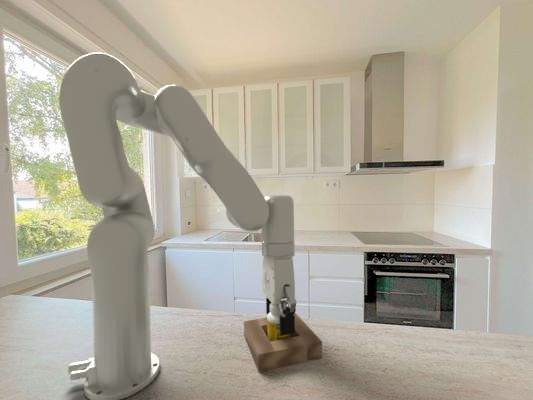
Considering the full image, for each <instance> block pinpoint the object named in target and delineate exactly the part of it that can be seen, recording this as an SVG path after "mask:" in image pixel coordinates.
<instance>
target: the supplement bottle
mask: <svg viewBox="0 0 533 400" xmlns="http://www.w3.org/2000/svg"><path fill="white" fill-rule="evenodd" d="M283 306H284V310H285V308H286V307H288V304H286V305H283ZM266 315H267V314H266ZM280 315H281V312H280V307H279V304H277V305H274V304H272V303H271V304H270V312H269V314H268V315H267V316H266V318H267V329H268V339H269V341H270V342H271V341H276V340H281V339H286V338H291V334H287V335H281V334H280Z"/></svg>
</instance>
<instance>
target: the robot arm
mask: <svg viewBox="0 0 533 400" xmlns="http://www.w3.org/2000/svg"><path fill="white" fill-rule="evenodd" d="M58 104H59V111H60V115H61V120H62V123H63V127H64V131H65V134H66V138H67V141H68V146H69V147H68V148H69V152H70V155H71V158H72V164H73V167H74V171H75V174H76V178H77V179H76V180H77V184H78V187H79V192H80V194H81V195H82V198H84V200H85V201H87V202H88V203H89V204H91V205H93V206H95V207H98V208H101V210H102V214H103V218H102V219H101V220H99V221H98V222H97V223H96V224H95V225H94V226H93V228H92V229H91V231H90V232H89V235H88V237H87V244H86V250H87V251H86V253H87V254H86V255H87V258H88V264H89V268H90V269H89V270H90V276H91V293H92V316H93V318H92V319H93V321H92V322H93V326H92V327H93V356H91V357H90V358H89V359H85V360H77V361H71V362H70V363H69V365H68V369H67V370H68V372H67V373H68V375H70V381H74V380H80V379H84V378H85V381H84V384H83V387H84V388H83V393H84V396H85V397H86V398H87V399H89V400H123V399H125V398H128V397H130V396H132V395H134V394H137V393H138V392H140V391H142V390H143V389H144V388H146V387H147V386H149V384H150V383H152V382H153V381H154V380H155V378H156V377H157V375H158V374H159V372H160V368H161V367H160V365H161V364H160V363H161V360H160V357H158V355H156V354H155V353H153V352H152V340H151V339H152V338H151V336H152V335H151V334H152V333H151V332H152V330H151V327H152V326H151V325H152V324H151V291H150V288H151V287H150V286H151V285H150V284H151V283H150V268H149V256H148V251H149V250H148V248H149V247H150V245H151V243H152V242H153V240H154V237H155V224H154V220H153V215H152V212H151V208H150V204H149V199H148V196H147V191H146V188H145V185H144V182H143V179H142V177H141V176H140V175H139V173H138V172H137V171H136V169H134V168H133V167H131V166H130V164H129V161H128V157H127V154H126V151H125V147H124V142H123V138H122V134H121V130H120V128H119V126H118V122H120V123H123V124H125V125H129V126H131V127H135V128H139V129H142V130H146V131H148V132H153V133H156V134H158V135H163V136H166V137H170V138H171V139H172V142H174V144H175V146H176V147H177V148H178V150H179V151H180V152H181V154H182V155H183V157H184V158H185V160H186V162H187V163H188V165H189V166H190V167H191V169H193V171H194V172H195V173H196V174H197V175H198V176H199V177H200V178H202V179H203V180H204V181H205V182H206V183H207V184H208V186H209V187H210V188H211V189H212V190H213V192H214V193H215V195H216V196H217V198H218V199H219V200H220V202H221V203H222V205H223V206H224V207H225V214H226V217H227V220H228V222H230V223H231V224H232V225H233V226H234V227H236V228H239V229H240V230H241V231H244V232H250V233H252V232H257V231H259V230H261V256H262V257H263V261H262V281H261V282H262V285H261V286H262V292H263V294H264V295H265V296H266V298H265V307H266V308H265V309H266V311H265V312H266V315H268V314H269V312H270V304H271V303H272V304H274V305H277V304H279V307H280V312H281V315H280V334H281V335H287V334H293V333H294V332H295V313H296V311H297V309H296V308H297V299H296V284H295V283H296V281H295V270H294V261H293V259H294V258H293V257H295V209H294V208H295V207H294V206H295V204H294V199H293V198H292V196H291V195H286V194H284V195H281V194H279V195H277V194H276V195H274V194H273V195H265V196H264V194H263V193H262V191H261V190H260V188H259V187H258V185H257V184H256V182H255V180H254V179H253V178H252V176H251V174H250V173H249V172H248V170H247V169H246V168H245V167H244V165H243V164H242V163H241V162H240V161H239V159H238V158H236V157H235V155H234V154H233V152H231V150H230V149H229V148H228V147H227V146H226V145H225V143H224V141H223V140H222V138H221V136H220V135H219V133H217V131H216V129H215V128H214V126H213V125H212V123H211V121H210V120H209V119H208V117H207V115H206V113H205V112H204V111H203V109H202V107H201V106H200V105H199V103H198V102H197V100H196V98H195V97H194V96H193V94H192V93H191V92H190V91H189V90H188V89H187V88H185V87H183V86H182V85H178V84H168V85H166V86H165V85H164V86H163V87H162V88H160V89H159V90H158V91H157V93H156V94H152V93H148V92H146V91H143V90H142V89H141V87H140V85H139V84H138V81H137V80H136V78H135V75H134V74H133V73H132V71H131V70H130V68H128V67H127V65H126V64H124V63H123V62H122V60H120V59H118V58H117V57H115V56H113V55H110V54H108V53H104V52H92V53H91V52H90V53H87V54H85V55H82V56H80V57H79V58H77V59H76V60H75V61H73V62H72V63H71V64H70V65H69V67H68V68H67V69H66V70H65V72H64V74H63V76H62V79H61V80H60V85H59V89H58ZM117 121H118V122H117ZM286 304H287V307H286V308H285V310H284V306H283V305H286Z"/></svg>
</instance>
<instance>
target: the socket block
mask: <svg viewBox="0 0 533 400" xmlns="http://www.w3.org/2000/svg"><path fill="white" fill-rule="evenodd" d="M243 336H244V338H245V342H246V344H247V347H248V349H249V351H250V354H251V357H252V359H253V362H254V364H255V367H256V370H257V371H258V373H263V372H268V371H271V370H276V369H281V368H284V367H288V366H294V365H297V364H302V363H307V362H310V361H315V360H316V361H317V360H320V359H323V342H322V340H321V338H320V337H319V336H317V334H316V333H315V332H314V331H313V330H312V329H311V328H310V327H309V326H308V325H307V324H306V322H304V321H303V319H302V318H301V317H300V315H298V314H297V313H296V312H295V332H294V333H293V334H291V338H286V339H281V340H276V341H271V342H270V341H269V339H268V329H267V317H264V318H263V317H262V318H256V319H250V320H244V321H243Z"/></svg>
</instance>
